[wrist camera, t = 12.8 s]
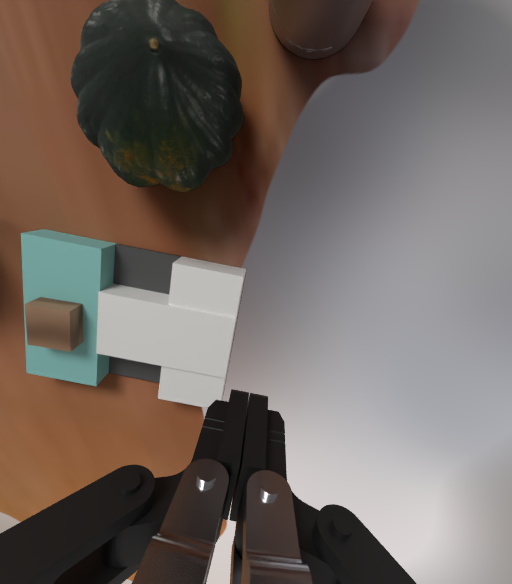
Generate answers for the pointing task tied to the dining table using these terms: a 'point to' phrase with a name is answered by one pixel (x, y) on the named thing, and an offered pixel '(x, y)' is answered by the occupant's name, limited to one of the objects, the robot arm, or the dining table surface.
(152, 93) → the squash
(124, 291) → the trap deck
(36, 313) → the walnut block
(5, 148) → the dining table surface
